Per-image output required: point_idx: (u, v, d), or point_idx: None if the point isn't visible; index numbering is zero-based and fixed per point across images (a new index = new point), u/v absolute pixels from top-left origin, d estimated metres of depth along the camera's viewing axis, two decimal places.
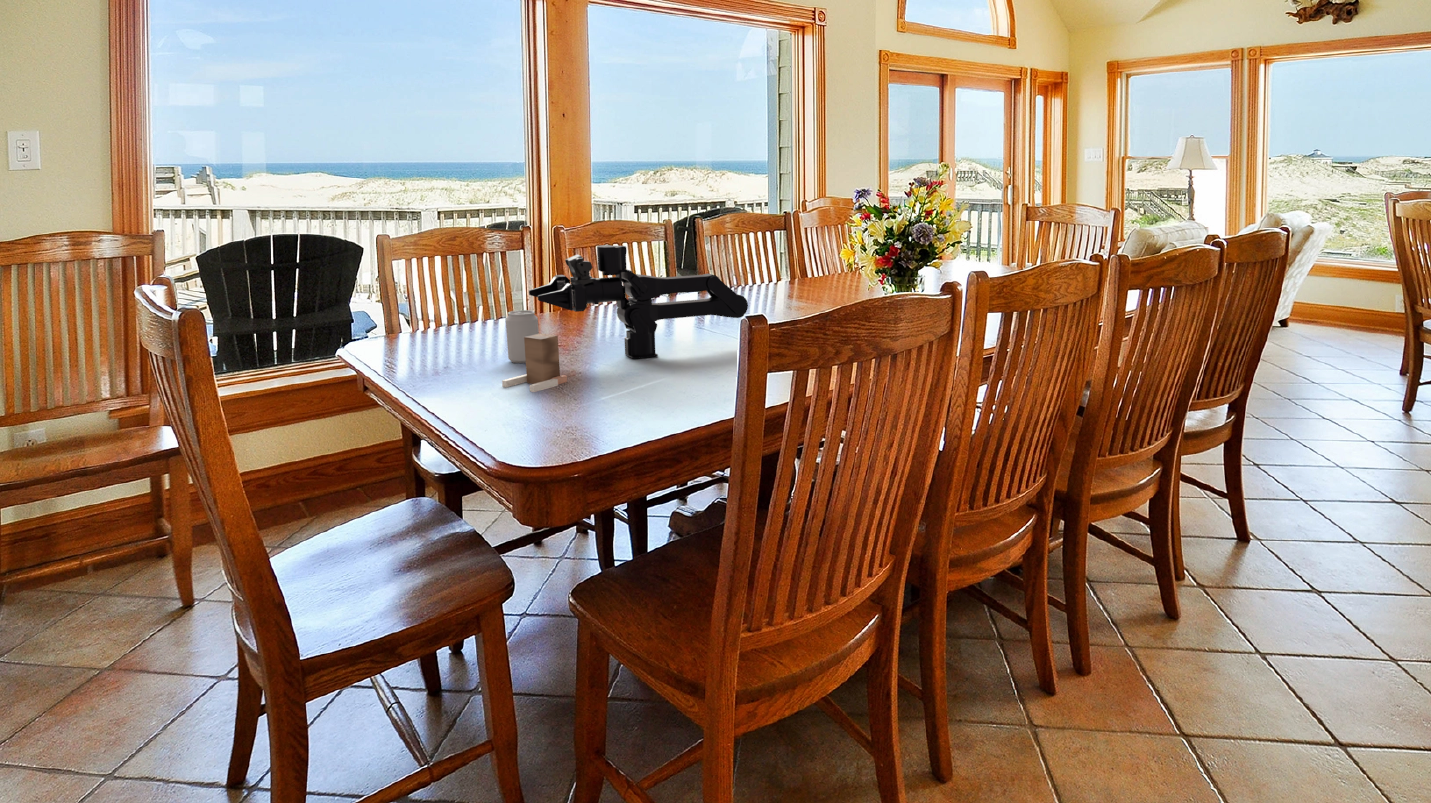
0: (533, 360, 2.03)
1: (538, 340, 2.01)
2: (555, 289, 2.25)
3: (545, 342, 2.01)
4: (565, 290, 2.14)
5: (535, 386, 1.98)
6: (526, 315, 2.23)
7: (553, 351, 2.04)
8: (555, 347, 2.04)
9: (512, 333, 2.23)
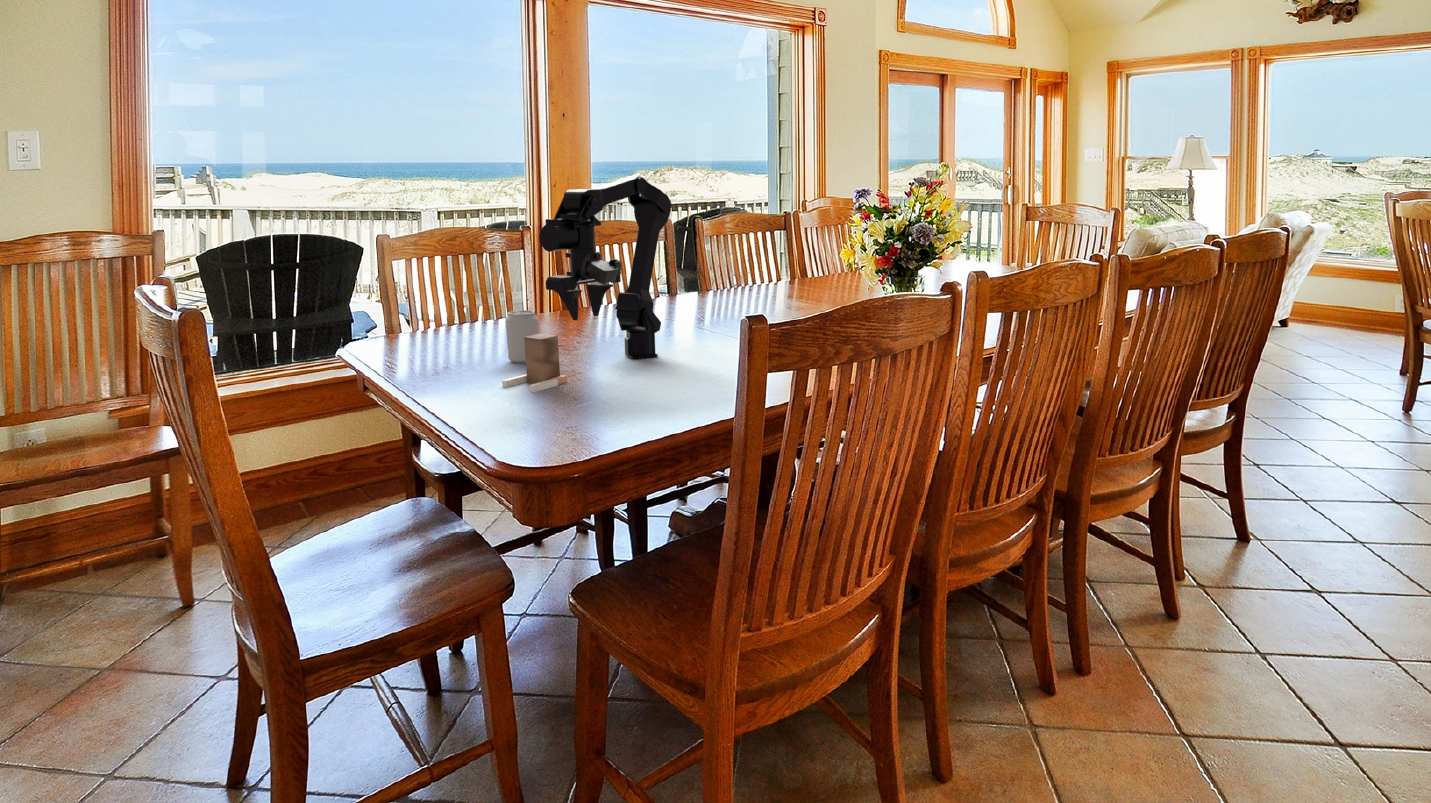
0: (533, 360, 2.03)
1: (538, 340, 2.01)
2: None
3: (545, 342, 2.01)
4: None
5: (535, 386, 1.98)
6: (526, 315, 2.23)
7: (553, 351, 2.04)
8: (555, 347, 2.04)
9: (512, 333, 2.23)
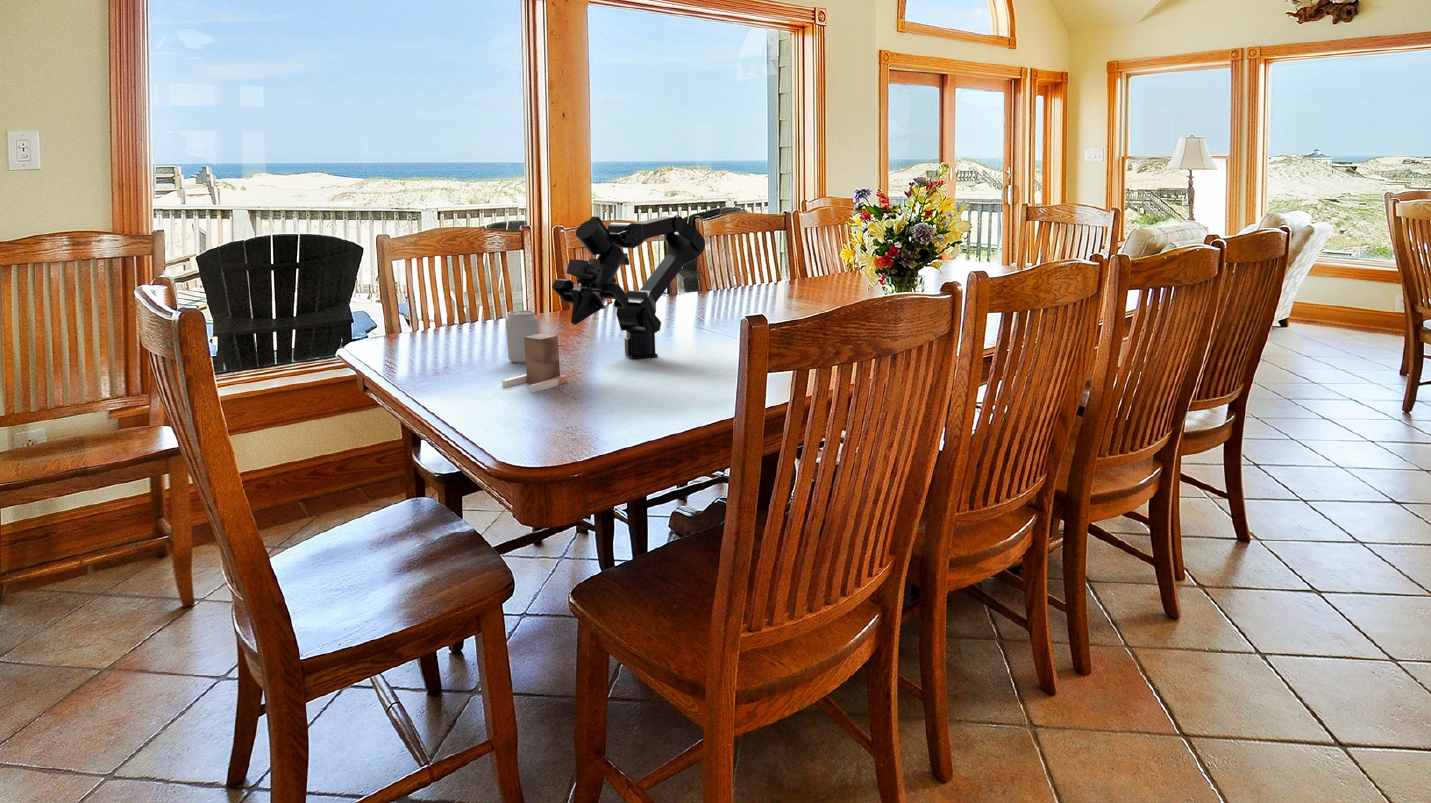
0: (533, 360, 2.03)
1: (538, 340, 2.01)
2: None
3: (545, 342, 2.01)
4: (588, 298, 2.11)
5: (535, 386, 1.98)
6: (526, 315, 2.23)
7: (553, 351, 2.04)
8: (555, 347, 2.04)
9: (512, 333, 2.23)
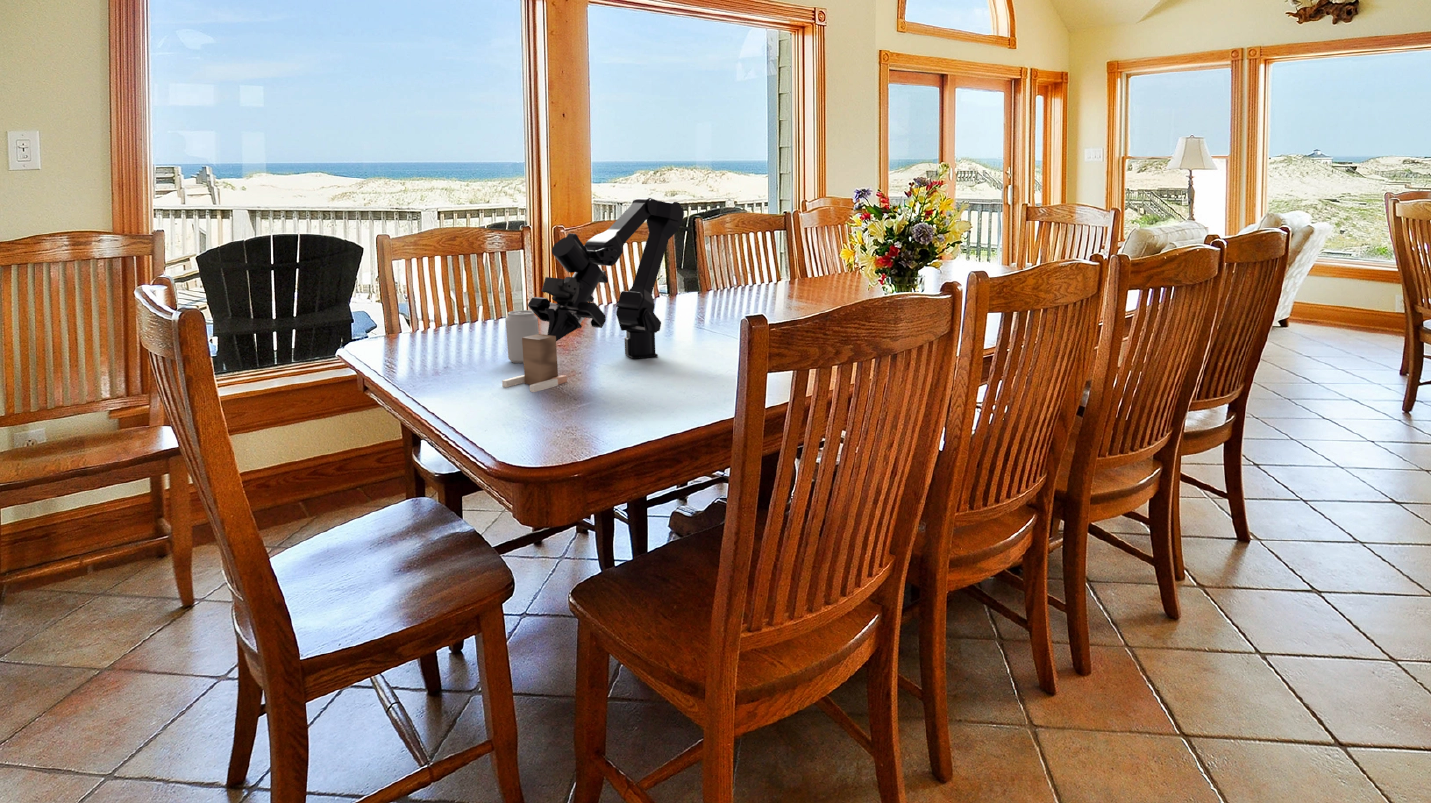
0: (531, 361, 2.02)
1: (536, 340, 2.00)
2: None
3: (543, 342, 2.01)
4: (565, 318, 2.06)
5: (535, 386, 1.98)
6: (526, 315, 2.23)
7: (551, 351, 2.03)
8: (553, 347, 2.04)
9: (512, 333, 2.23)
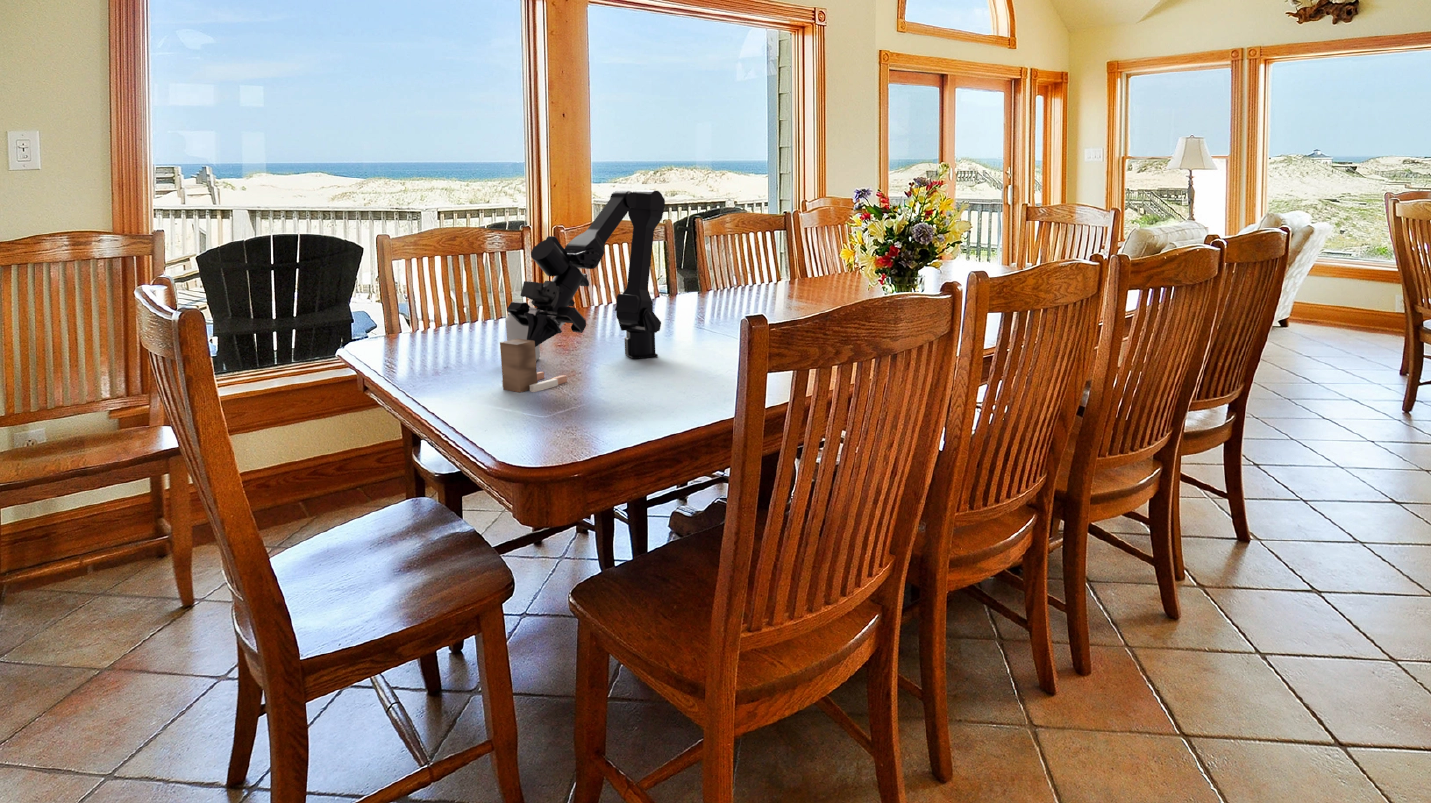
0: (509, 366, 1.98)
1: (514, 345, 1.95)
2: None
3: (521, 347, 1.96)
4: (544, 322, 2.01)
5: (535, 386, 1.98)
6: None
7: (530, 357, 1.98)
8: (531, 352, 1.99)
9: (512, 333, 2.23)
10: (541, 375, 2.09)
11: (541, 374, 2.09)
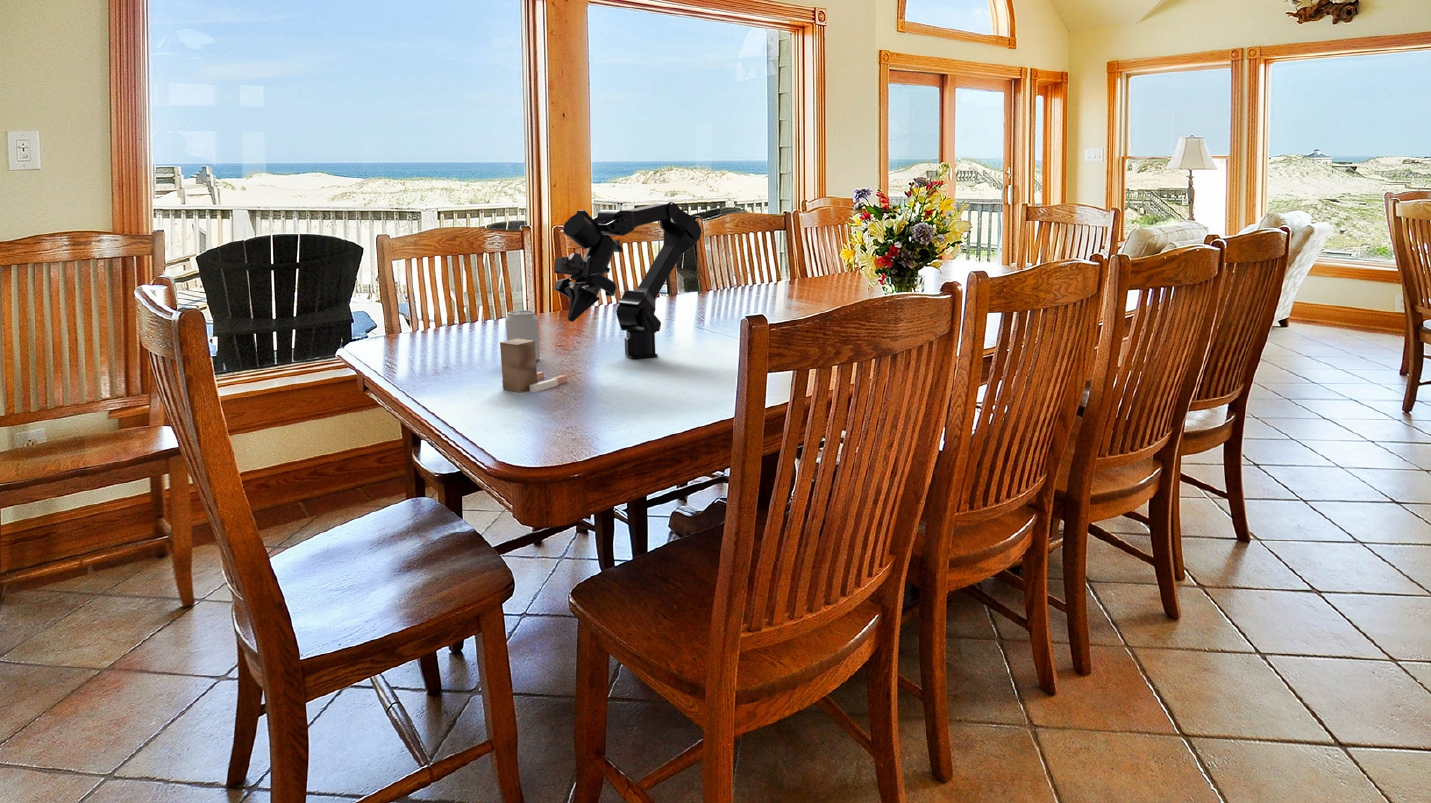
0: (509, 366, 1.98)
1: (514, 345, 1.95)
2: None
3: (521, 347, 1.96)
4: (579, 293, 2.11)
5: (535, 386, 1.98)
6: (526, 315, 2.23)
7: (530, 357, 1.98)
8: (531, 352, 1.99)
9: (512, 333, 2.23)
10: (541, 375, 2.09)
11: (541, 374, 2.09)
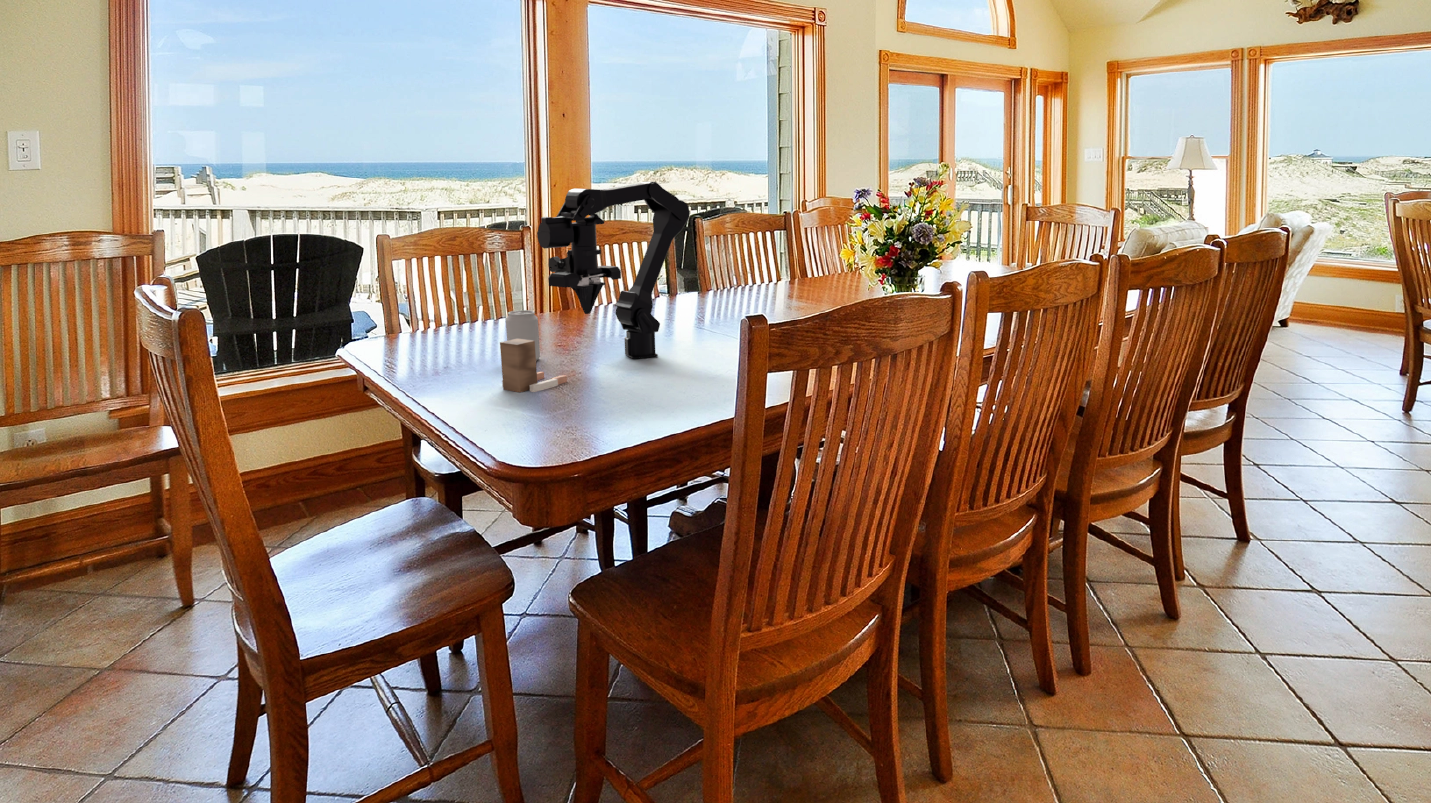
0: (509, 366, 1.98)
1: (514, 345, 1.95)
2: None
3: (521, 347, 1.96)
4: (574, 289, 2.18)
5: (535, 386, 1.98)
6: (526, 315, 2.23)
7: (530, 357, 1.98)
8: (531, 352, 1.99)
9: (512, 333, 2.23)
10: (541, 375, 2.09)
11: (541, 374, 2.09)
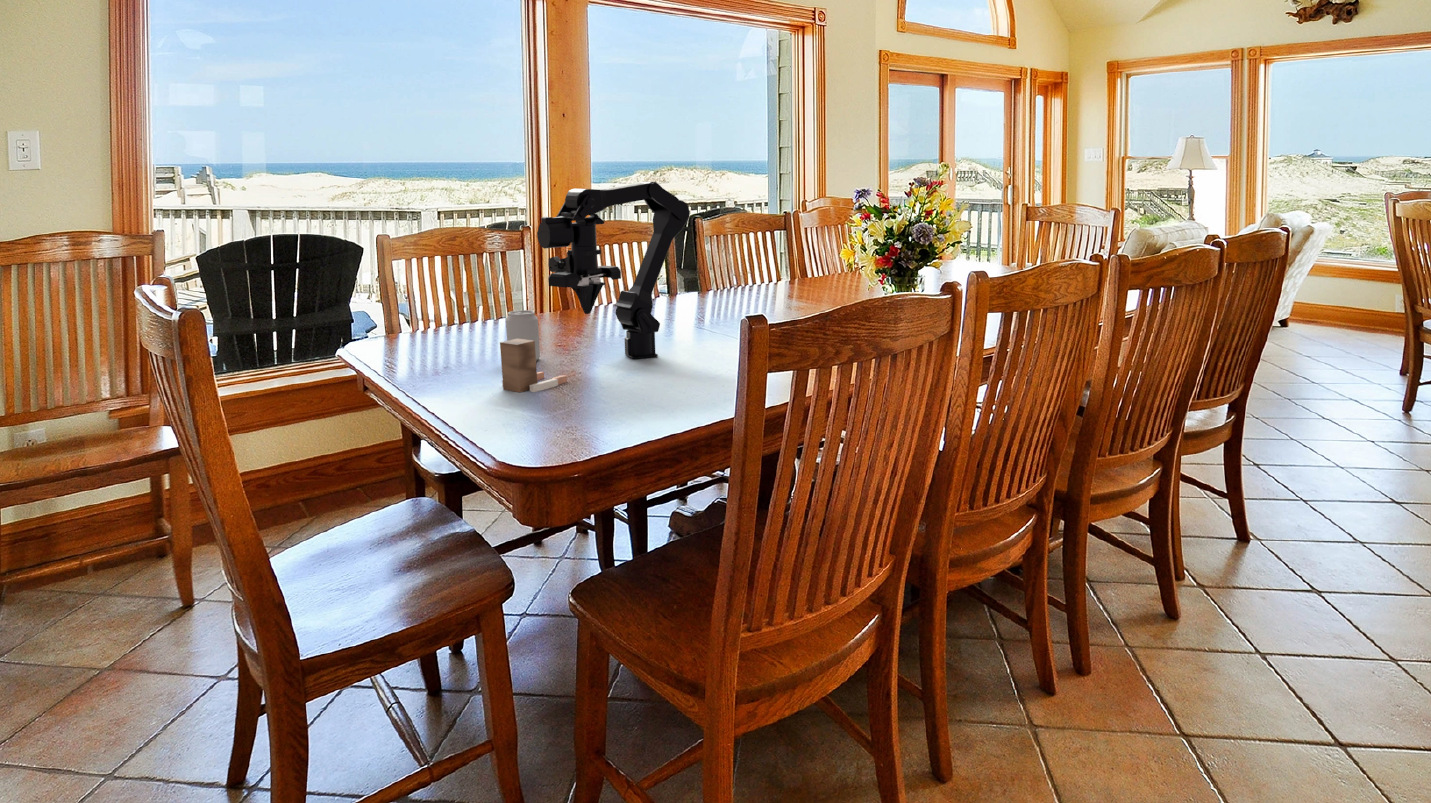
0: (509, 366, 1.98)
1: (514, 345, 1.95)
2: None
3: (521, 347, 1.96)
4: (574, 289, 2.18)
5: (535, 386, 1.98)
6: (526, 315, 2.23)
7: (530, 357, 1.98)
8: (531, 352, 1.99)
9: (512, 333, 2.23)
10: (541, 375, 2.09)
11: (541, 374, 2.09)
